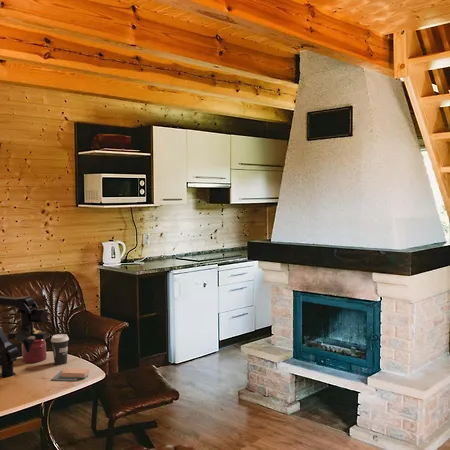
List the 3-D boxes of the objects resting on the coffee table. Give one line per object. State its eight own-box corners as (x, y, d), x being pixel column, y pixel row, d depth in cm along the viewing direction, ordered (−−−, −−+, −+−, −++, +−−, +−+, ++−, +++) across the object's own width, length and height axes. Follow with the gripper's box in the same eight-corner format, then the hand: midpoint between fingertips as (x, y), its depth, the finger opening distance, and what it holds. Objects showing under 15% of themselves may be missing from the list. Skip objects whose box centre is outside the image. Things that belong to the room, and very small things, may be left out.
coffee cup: (56, 367, 287) (54, 339, 286) (48, 362, 294) (47, 336, 293) (72, 363, 293) (71, 336, 292) (65, 358, 300) (64, 332, 299)
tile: (61, 372, 270) (84, 373, 268) (66, 368, 276) (89, 368, 275) (61, 377, 270) (84, 378, 269) (66, 373, 276) (89, 373, 275)
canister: (50, 359, 300) (49, 328, 298) (27, 365, 291) (26, 333, 289) (40, 354, 309) (39, 323, 308) (18, 359, 301) (17, 328, 299)
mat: (51, 380, 268) (51, 379, 268) (60, 371, 280) (60, 370, 279) (76, 381, 266) (76, 380, 266) (85, 372, 278) (84, 371, 278)
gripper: (1, 325, 263) (2, 356, 265) (37, 326, 262) (38, 357, 263) (12, 319, 274) (13, 349, 276) (47, 320, 273) (48, 350, 274)
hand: (28, 352), depth 272 cm, fingers closed
